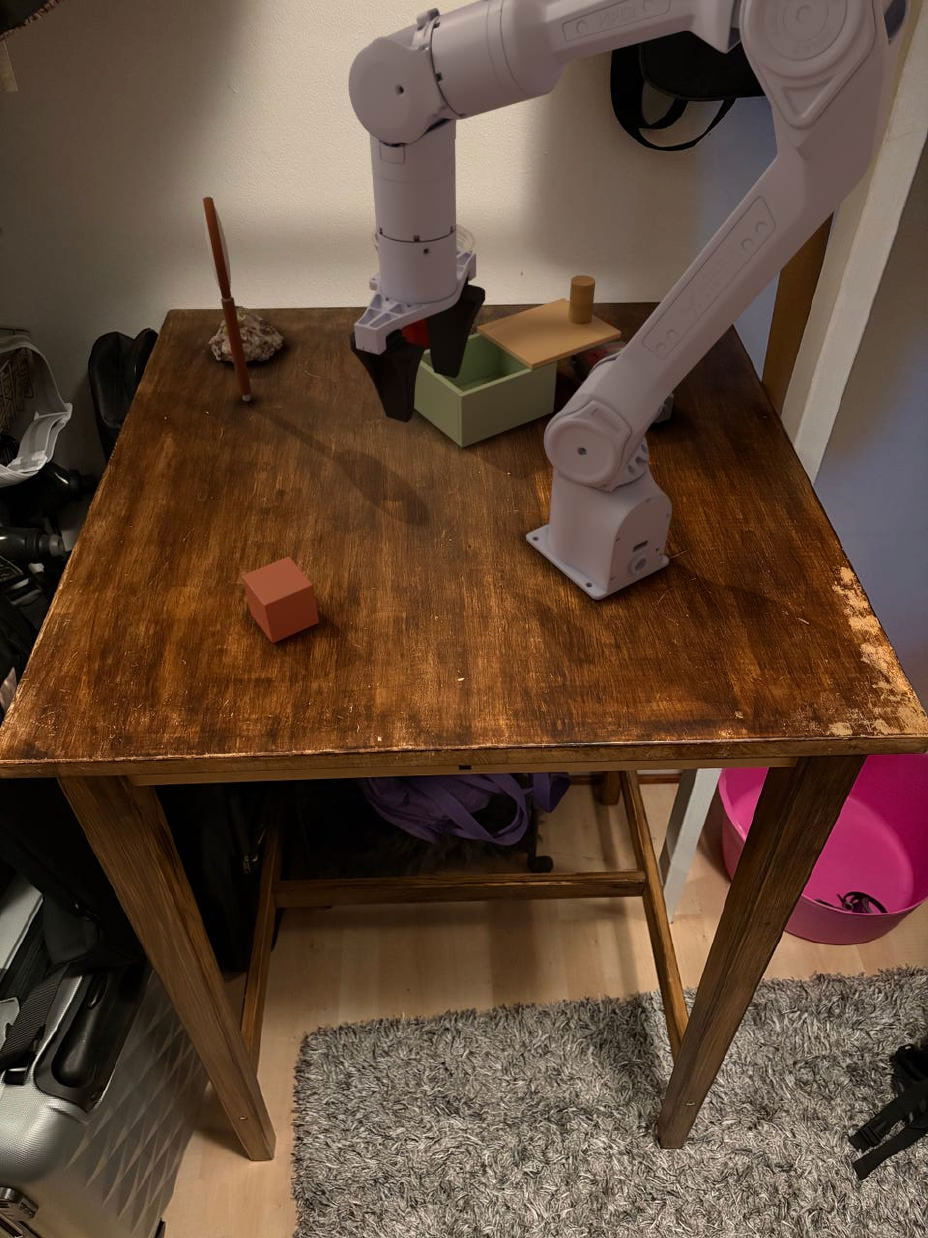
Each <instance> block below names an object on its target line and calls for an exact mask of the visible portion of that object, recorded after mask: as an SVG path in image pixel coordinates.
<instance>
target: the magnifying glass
mask: <svg viewBox="0 0 928 1238" xmlns="http://www.w3.org/2000/svg"><path fill="white" fill-rule="evenodd" d="M202 203H203V225H204V234H205V235H204V237H205V241H206V247H207V253H208V257H209V261H210V266H211V269H212V272H213V276H214V278H215V281H216V284H217V286H218V288H219V291H220V295H221V299H220V302H221V309H222V313H223V318H225V322H226V327H227V332H228V337H229V342H230V347H231V352H232V357H233V362H232V363H233V367H234V371H235V372H234V373H235V376H236V382H237V386H238V391H239V395H241V396H242V400H243V401H245V402H249V401H250V400H251V394H252V387H251V382H250V376H249V371H248V366H247V362H246V360H245V355H244V350H243V344H242V339H241V334H240V329H239V323H238V318H237V313H236V308H235V306H236V303H235V299H234V297H233V296H232V292H231V287H232V275H231V265H230V256H229V251H228V246H227V240H226V235H225V233H224V228H223V226H222V222H221V219H220V216H219V213H218V210H217V209H216V207H215V203H214V198H213V197H212V196H205V197H204V198H202Z"/></svg>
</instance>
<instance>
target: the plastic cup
mask: <svg viewBox="0 0 928 1238" xmlns="http://www.w3.org/2000/svg"><path fill="white" fill-rule="evenodd" d="M370 237H371V240H372V243H373V246H374V248H375V250H376V251H377V252H378V243H377V229H376V227H375V228H374V229H373V232H372V233H371V235H370ZM456 240H457V249H458V250H463V251H467V252H471V253H473V251H474V248H475V245H476V242H477V241H476V238H475V236H474V235H473V234H472V232H471V231H469V230H468V229H466V227H464V226H462V225H460V224H458V223H456ZM401 330H402V335H403V337H404V336H406V337H407V342H410V343H413V344H417V345H421V346H425V347H426V350H428V349H430V348H429V339H428V332H427V327H426V323H425V319H421V320H419V321H416V322H414V323H411V324H409V325H406V326H404V327H403V328H402V329H401Z"/></svg>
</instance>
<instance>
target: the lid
mask: <svg viewBox="0 0 928 1238" xmlns="http://www.w3.org/2000/svg"><path fill="white" fill-rule="evenodd" d="M569 289H570V290H569V300H568V299H566V298H564V297H562V298H559V299H557V300H554V301H550V302H548V303H545V304H542V305H539V306H535V307H532V308H530V309H527V310H523V311H521V312H518V313H514V314H511V315H508V316H505V317H502V318H499V319H496V320H493V321H490V322H488V323H483V324H481V325H477V326H476V333H480V334H481V335H482V336H484V337H485V338H487V339H488V340H490V341H491V342H493V343H494V344H496V345H497V346H498V347H500V348H501V349H503V350H504V351H506V352H507V353H509V354H510V355H512V356H513V357H514V358H516V359H517V360H519V361H520V362H522V363H523V364H525V365H526V366H528V367H529V368H530V369H535V368H538V367H540V366H543V365H546V364H549V363H551V362H554V361H557V362H558V361H559V360H562V359H565V358H569V356H571V355H576V354H577V353H579V352H582V351H584V350H587V349H590V348H593V347H595V346H598V345H601V344H606V343H610V342H611V341H614V340H617V339H620V338H621V337H622V331H621V330H619V329H617V328H615V327H614V326H612V325H611V324H609V323H607V322H605V321H603V320H602V319H600V318H598V317H596V316H595V315H593V312H594V311H593V309H594V301H595V289H596V279H595V278H594V277H592V276H590V275H583V274H581V275H575V276H573V277H571V280H570V288H569Z"/></svg>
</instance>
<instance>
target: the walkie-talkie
mask: <svg viewBox="0 0 928 1238" xmlns="http://www.w3.org/2000/svg"><path fill="white" fill-rule="evenodd" d="M627 344H628V343H626V342H624V341H613V342H606V343H604V344H601V345H598V346H595V347H593V348H590V349H587V350H584V351H582V352H579V353H576V354H573V355H571V356H568V357H567V358H568V359H567V364H568V366H569V368H570V369H571V371H572V372H573V376H574V377H575V379H576V381H577V382H578V383H579V385H580V386H581V385H582V384H583V383H584V382H585V380H586V379H587V378H588V375H589V372H590V371H591V370H592V368H593V367H594V366H595V365H596V364H597V363H598V362H599V361H600V360H602V359H604V358H606V357H608V356H611V355H614V354H616V353H618V352H620V351H621V350H622V349H624V348H625V346H626V345H627ZM674 398H675V394H674V393H673V391H672V392H671V393H670V394H669V396H668V397H667V398H666V400H665V401H664V405H663V408H662V410H661V412H660V414H659V415H658V417H657V418H656V419H655V420H654V422H653V423H654V424H659V423H662V422H665V421H668V420H670V419H671V415H672V410H673V405H674ZM653 423H652V424H653Z"/></svg>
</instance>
